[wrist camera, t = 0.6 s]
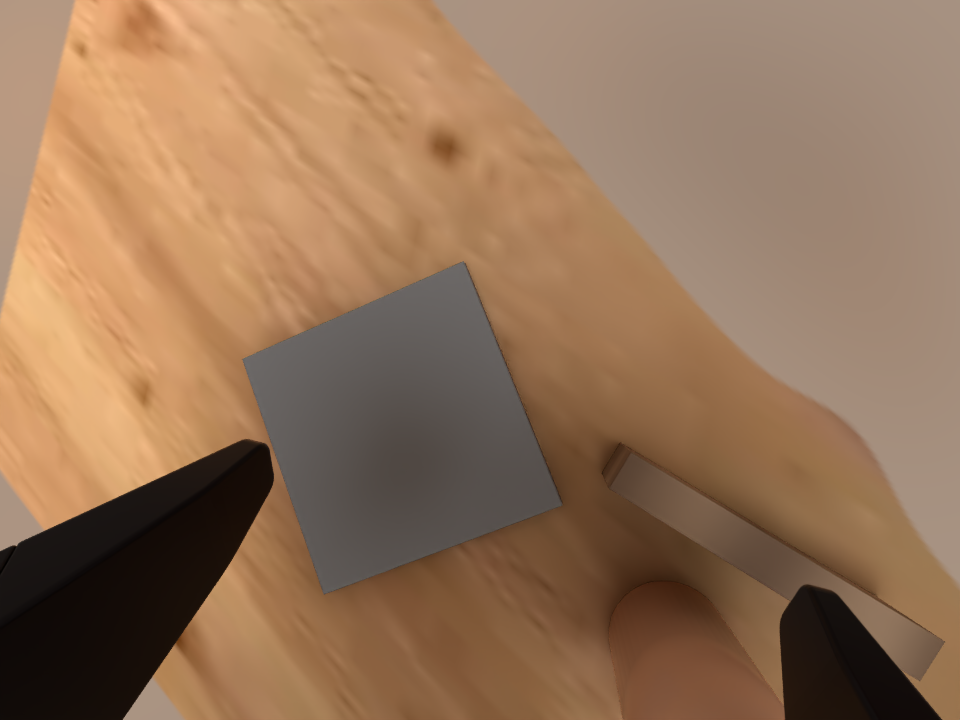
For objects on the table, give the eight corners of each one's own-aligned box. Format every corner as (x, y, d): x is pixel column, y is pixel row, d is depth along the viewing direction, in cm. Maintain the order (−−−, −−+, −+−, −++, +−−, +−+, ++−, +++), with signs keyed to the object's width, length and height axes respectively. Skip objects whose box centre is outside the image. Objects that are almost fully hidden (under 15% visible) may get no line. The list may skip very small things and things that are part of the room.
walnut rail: (877, 597, 22) (945, 641, 18) (857, 630, 22) (920, 681, 18) (620, 442, 24) (631, 452, 20) (601, 472, 24) (609, 488, 20)
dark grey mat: (562, 502, 24) (562, 505, 24) (329, 589, 26) (323, 594, 25) (465, 264, 26) (463, 261, 25) (249, 359, 27) (242, 358, 27)
